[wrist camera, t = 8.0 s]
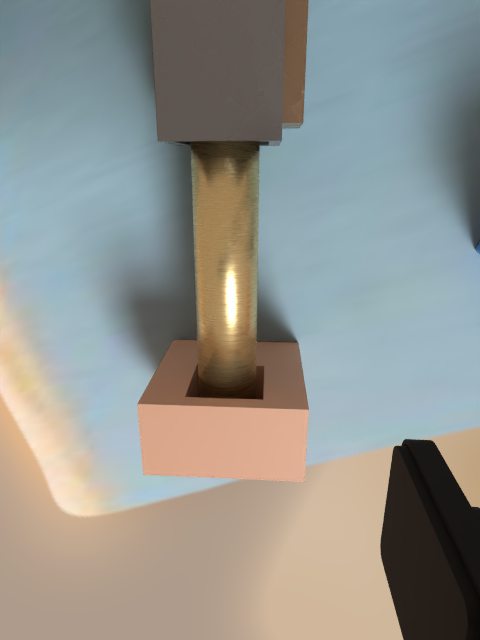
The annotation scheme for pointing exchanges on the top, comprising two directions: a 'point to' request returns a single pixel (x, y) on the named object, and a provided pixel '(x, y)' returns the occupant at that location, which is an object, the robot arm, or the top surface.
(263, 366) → the socket
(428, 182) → the top surface
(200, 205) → the tube
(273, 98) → the grey block
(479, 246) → the ink box
